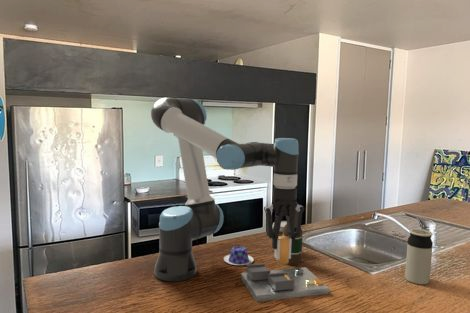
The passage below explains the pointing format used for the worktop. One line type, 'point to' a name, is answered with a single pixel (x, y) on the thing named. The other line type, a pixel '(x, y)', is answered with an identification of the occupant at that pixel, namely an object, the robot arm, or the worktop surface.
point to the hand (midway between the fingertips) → (282, 257)
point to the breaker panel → (303, 287)
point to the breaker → (257, 271)
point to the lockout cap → (284, 250)
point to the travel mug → (419, 256)
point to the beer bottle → (295, 245)
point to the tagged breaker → (280, 281)
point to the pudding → (238, 256)
